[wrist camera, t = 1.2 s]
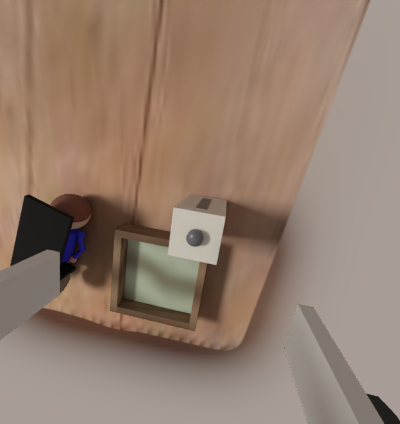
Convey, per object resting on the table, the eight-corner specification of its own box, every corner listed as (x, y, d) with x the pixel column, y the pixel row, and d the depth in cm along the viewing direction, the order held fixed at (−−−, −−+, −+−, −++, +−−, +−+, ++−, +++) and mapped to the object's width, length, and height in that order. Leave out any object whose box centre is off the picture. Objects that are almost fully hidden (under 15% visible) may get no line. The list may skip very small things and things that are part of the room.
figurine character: (86, 276, 35) (107, 202, 30) (48, 310, 28) (66, 221, 23) (51, 258, 36) (66, 182, 30) (5, 288, 28) (13, 194, 23)
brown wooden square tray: (125, 223, 30) (114, 229, 28) (211, 240, 29) (209, 248, 26) (120, 298, 34) (110, 310, 31) (197, 316, 32) (194, 331, 30)
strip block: (190, 193, 28) (172, 208, 19) (226, 200, 28) (225, 218, 18) (185, 228, 29) (165, 257, 20) (219, 235, 29) (216, 268, 20)
